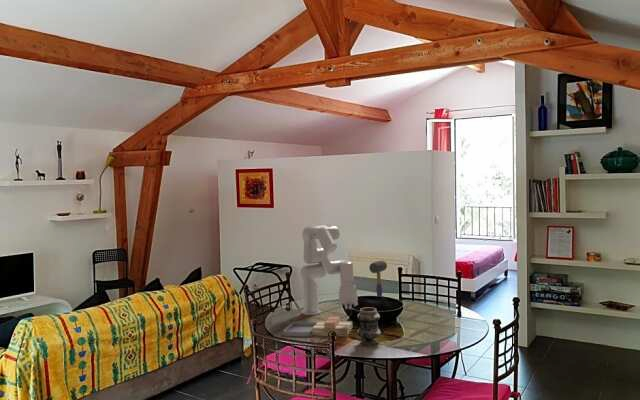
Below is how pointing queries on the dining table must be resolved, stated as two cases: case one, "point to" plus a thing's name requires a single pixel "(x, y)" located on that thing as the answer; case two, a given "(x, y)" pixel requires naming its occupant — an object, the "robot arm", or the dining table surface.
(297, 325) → the tray
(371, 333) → the apothecary jar
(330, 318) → the tile
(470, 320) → the dining table surface
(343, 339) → the dining table surface
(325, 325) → the tile
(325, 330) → the cream slotted tray
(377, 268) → the rubber mallet
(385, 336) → the dining table surface
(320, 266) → the robot arm
